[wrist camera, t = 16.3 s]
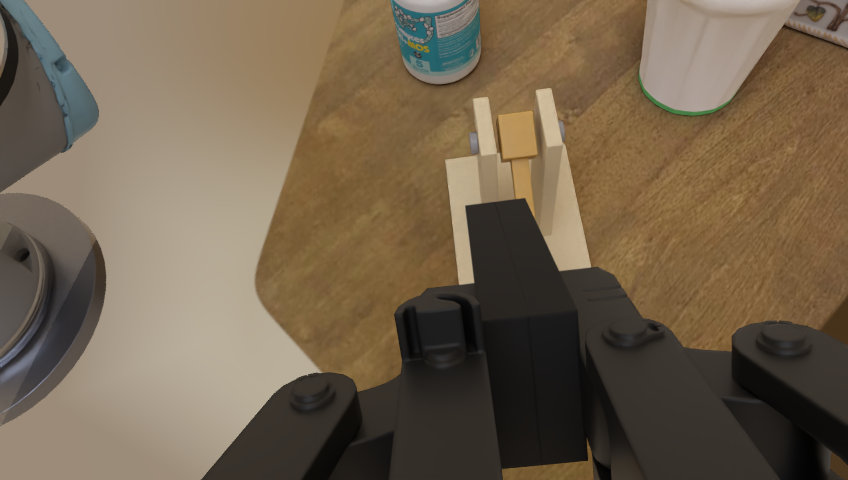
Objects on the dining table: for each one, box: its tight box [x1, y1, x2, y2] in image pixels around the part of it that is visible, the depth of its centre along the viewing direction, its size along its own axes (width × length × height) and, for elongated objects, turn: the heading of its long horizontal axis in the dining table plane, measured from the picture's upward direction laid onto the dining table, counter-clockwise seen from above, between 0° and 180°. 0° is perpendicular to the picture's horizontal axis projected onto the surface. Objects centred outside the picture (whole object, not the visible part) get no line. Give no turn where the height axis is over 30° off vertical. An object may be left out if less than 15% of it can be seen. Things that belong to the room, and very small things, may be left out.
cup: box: [638, 0, 800, 116], centre depth 50 cm, size 12×12×15 cm
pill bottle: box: [390, 0, 481, 84], centre depth 55 cm, size 8×7×14 cm
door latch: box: [445, 88, 591, 285], centre depth 46 cm, size 12×10×14 cm
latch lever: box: [496, 111, 538, 220], centre depth 42 cm, size 13×6×2 cm, turn 4°
